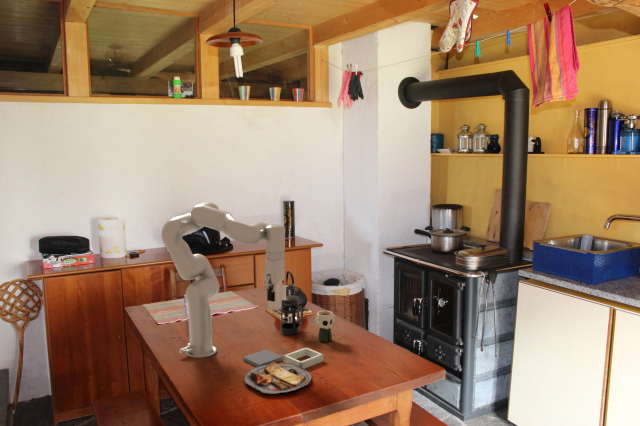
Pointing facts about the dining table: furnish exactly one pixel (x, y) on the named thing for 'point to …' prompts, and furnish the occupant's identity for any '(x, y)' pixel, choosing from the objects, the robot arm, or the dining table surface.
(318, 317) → the character mug
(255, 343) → the dining table surface
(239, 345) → the dining table surface
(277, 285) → the cream jug
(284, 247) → the robot arm
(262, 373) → the food plate
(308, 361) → the cream rectangular frame
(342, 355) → the dining table surface
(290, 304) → the french press
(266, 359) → the slate coaster
